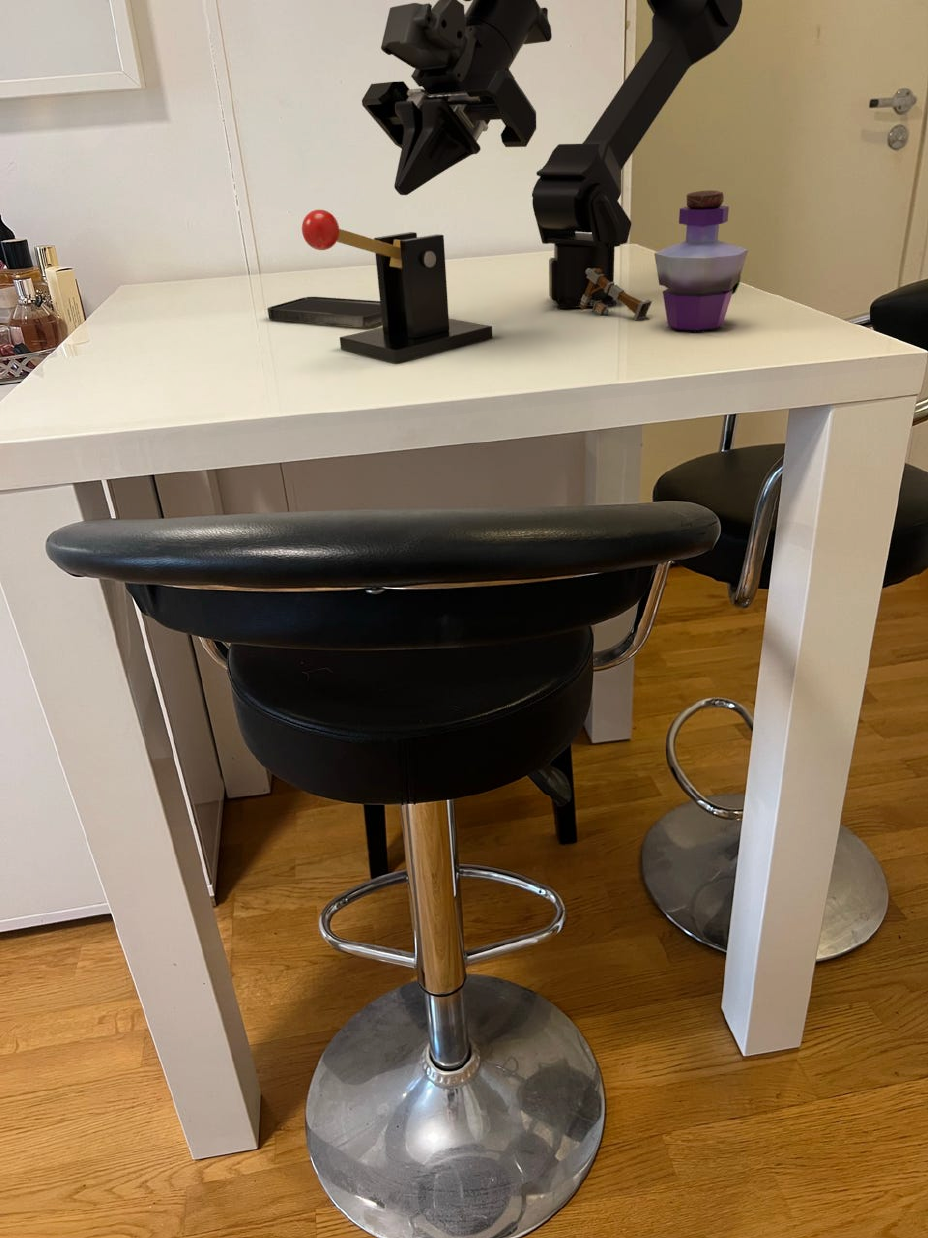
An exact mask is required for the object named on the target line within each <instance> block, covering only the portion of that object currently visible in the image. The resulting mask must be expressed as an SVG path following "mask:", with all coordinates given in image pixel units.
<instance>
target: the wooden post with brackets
mask: <svg viewBox="0 0 928 1238" xmlns="http://www.w3.org/2000/svg"><path fill="white" fill-rule="evenodd" d="M601 272H602V270H601V269H600V268H598V269H596V268H594V269H591V268H588V269H587V270H586V274H587V278H588V279H590V282H589V284H588V287H587V289H586V292H585V294H583V296H582V299H581V303H580V305H579V307H578V308H581V309H582V310H583V309H586V308H587V307H586V306H587V305H588V302H590V304H591V305H590V306H589V307H592V310H591V311H592V312H594V311H595V312H596V313H598V314H599V316H602V315H605V316H607V315H608V314H609V313H610V310H609V309H608V308H609V305H604V304H603V303H601V301H602V300H599V301H596V302H595V300H594V301H593V300H590V299H591V297H592V296H591V295H592V294H593V292H595V291H597V290H599V289H601V288H603V289H604V290H605V291H604V292H606V293H609V294H608V295H610V296H612V297H613V298H614V299H615V300H616V301H619V302H620V303H622V304H623V305H624V306H625V307H626V308H628V310H630V311H631V312H632V313H633V314H634V315H633V319H634V320H635V321H638V320H640V319H644V318H646V316H647V313H648V311H649V309H650V307H651V304H652V302H653V301H651V300H649V299H648V300H644V301H642V300H640V299H638V298H636V297H634V296H632V295H630V294H628V293H627V292H625V289H623V288H621V287H620V286H619V285H618V284H616V283H615V282H610V281H609V280H607V279H606V278H605V277H603V276H604V275H603V274H601ZM596 284H598V285H600V287H598V288H596V289H594V287H595V285H596ZM592 305H593V306H592Z"/></svg>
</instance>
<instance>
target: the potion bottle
mask: <svg viewBox="0 0 928 1238" xmlns="http://www.w3.org/2000/svg"><path fill="white" fill-rule="evenodd" d="M724 195H725V194H724V192H723V191H720V190H712V189H710V190H698V191H693V192H689V193H687V194H686V206H684V207H681V208H679V213H678V215H679V216H678V224H680V225H684V226H686V232H685V241H682V242H678V243H676V244H674V245H671V246H667V247H665V248H662V249H660V250H658V251H656V252H654V259H655V267H656V271H657V272H656V274H657V278H658V285H659V286H662V287H664V288H666V289H664V290H662V296H663V302H664V308H665V315H666V322H667V326H666V328H667V329H669V330H671V331H674V332H679V333H692V334H693V333H695V334H700V333H709V332H717V331H720V330H721V329H722V328H724V327H725V326H726V325H725V324H724V322H725V318H726V315H727V312H728V308H729V305H730V302H731V298H732V296H733V295H734V294H736V293H737V291H738V288H739V286H740V284H741V279H742V271H743V269H744V265H745V262H746V258H747V255H748V252H749V249H748V248H744V247H741V246H738V245H735V244H732V243H729V242H725V241H722V240H719V232H720V231H719V230H720V225H723V224H725V223H727V222H728V221H729V210H730V206H728V205H723V203H724V199H725V197H724Z"/></svg>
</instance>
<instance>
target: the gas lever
mask: <svg viewBox="0 0 928 1238" xmlns="http://www.w3.org/2000/svg"><path fill="white" fill-rule="evenodd" d="M301 234H302V237H303V239H304V241H305V242H306V244H307V245H308V246H309V247H311V248H312V249H314V250H318V251H326V250H330V249H331V248H333V247H334V246H335V245H336V243H338V244H339V243H340V244H343V245H345V246H349V247H352V248H357V249H360V250H363V251H367V252H370V253H373V254H375V253H376V254H380V255H383V256H386V257H390V258H391V260H390V267H394V268H397V269H401V270H402V261H401V249H400V240H394V243H393V245H391V244H387V243H384V242H381V241H378V240H374V238H370V237H367V236H365V235H361V234H358V233H354V232H351V231H348V230H345V229H342V228H340V225H339V222H338V220H337V218H336V217H335V216H334V215H333V214H332V213H331V212H329V211H327V210H324V209H314V210H312V211H310V212H309V213H307V214H306V215H305V217H304V219H303V220H302V222H301Z"/></svg>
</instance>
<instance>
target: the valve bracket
mask: <svg viewBox="0 0 928 1238" xmlns="http://www.w3.org/2000/svg"><path fill="white" fill-rule="evenodd" d="M417 233H418V232H416V231H415V232H413V231H408V232H402V233H397V234H389V235H382V236H377V237H374V238H373V239H374V240H378V241H381V242H384V243H387V244H391V245H393V243H394V240H400V249H401V261H402V270H401V269H397V268H394V267H390V260H391V258H390V257H386V256H383V255H380V254H376V253H374V255H375V265H376V274H377V275H376V276H377V286H378V295H379V296H378V297H379V301H380V306H381V316H382V323H381V325H382V326H381V327H379V328H375V329H369V330H366V331H361V332H358V333H356V332H355V333H352V334H347V335H344V336H340V337H339V346H340V350H341V351H346V352H350V353H354V354H357V355H361V356H365V357H369V358H373V359H377V360H382V361H385V362H388V363H392V364H400V363H403V362H404V363H405V362H407V361H408V362H409V361H411V360H414V359H415V360H416V359H419V358H423V357H426V356H430V355H434V354H438V353H442V352H446V351H449V350H453V349H458V348H461V347H465V346H469V345H473V344H477V343H481V342H484V341H489V340H492V339H493V338H494V337H493V336H494V335H493V326H492V325H488V324H484V323H483V324H482V323H476V322H472V321H466V320H462V319H461V320H460V319H455V318H451V317H449V303H448V302H449V301H448V286H447V285H448V284H447V270H446V269H447V267H446V253H445V238H444V235H443V234H430V235H425V236H419V237H418V234H417Z"/></svg>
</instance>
